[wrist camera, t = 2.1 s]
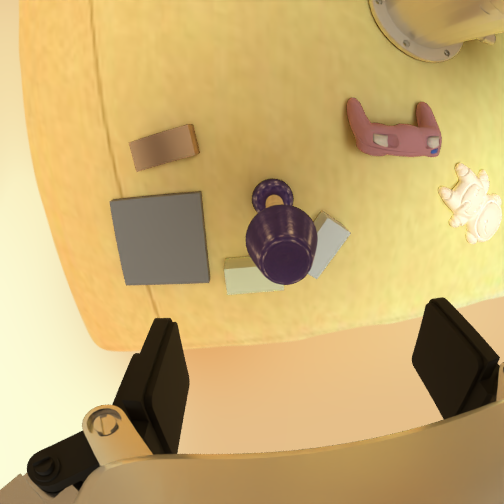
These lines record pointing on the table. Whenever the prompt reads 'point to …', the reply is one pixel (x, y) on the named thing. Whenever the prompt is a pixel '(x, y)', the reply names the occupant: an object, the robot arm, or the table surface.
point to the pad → (161, 239)
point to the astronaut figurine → (473, 204)
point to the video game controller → (395, 133)
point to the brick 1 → (164, 147)
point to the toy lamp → (280, 234)
